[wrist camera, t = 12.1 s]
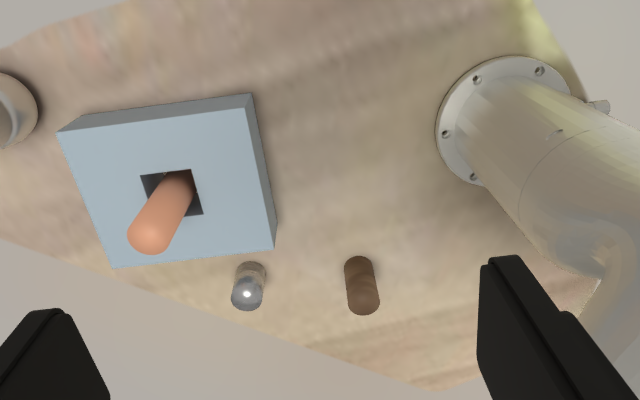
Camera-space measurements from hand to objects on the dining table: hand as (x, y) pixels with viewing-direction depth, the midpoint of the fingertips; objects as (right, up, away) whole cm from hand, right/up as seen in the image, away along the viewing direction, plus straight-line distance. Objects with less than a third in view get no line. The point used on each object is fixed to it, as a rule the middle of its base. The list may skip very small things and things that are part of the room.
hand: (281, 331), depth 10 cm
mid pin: (+5, -5, +40) cm, 41 cm away
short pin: (-7, -5, +40) cm, 41 cm away
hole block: (-12, +6, +34) cm, 37 cm away
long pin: (-12, +6, +34) cm, 37 cm away
